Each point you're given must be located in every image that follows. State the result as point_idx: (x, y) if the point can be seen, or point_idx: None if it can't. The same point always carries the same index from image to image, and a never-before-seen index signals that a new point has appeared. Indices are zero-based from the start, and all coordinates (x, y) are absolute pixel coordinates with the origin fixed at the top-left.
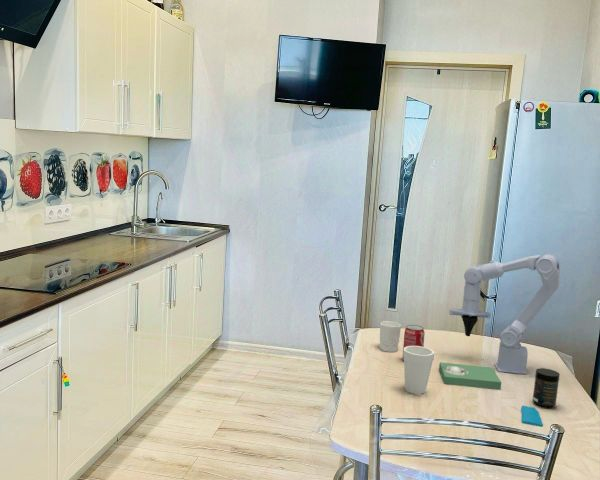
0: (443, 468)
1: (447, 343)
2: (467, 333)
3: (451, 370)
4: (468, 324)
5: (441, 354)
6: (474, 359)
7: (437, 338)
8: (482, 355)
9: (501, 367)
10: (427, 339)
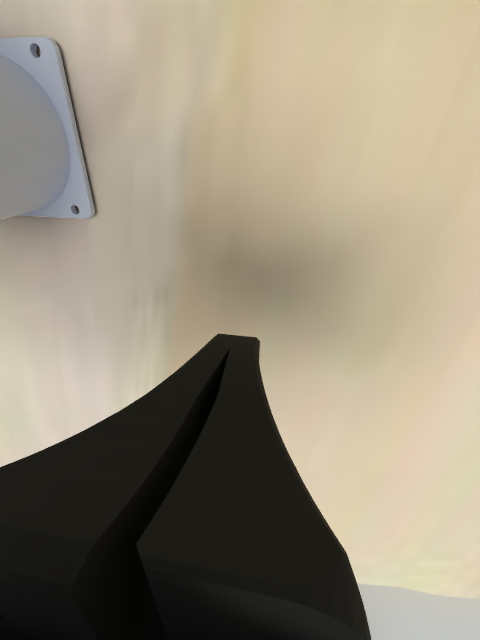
0: None
1: (303, 475)
2: (241, 348)
3: None
4: (210, 442)
5: (400, 331)
6: (205, 282)
7: (332, 519)
8: (156, 351)
9: (29, 82)
10: (389, 511)
